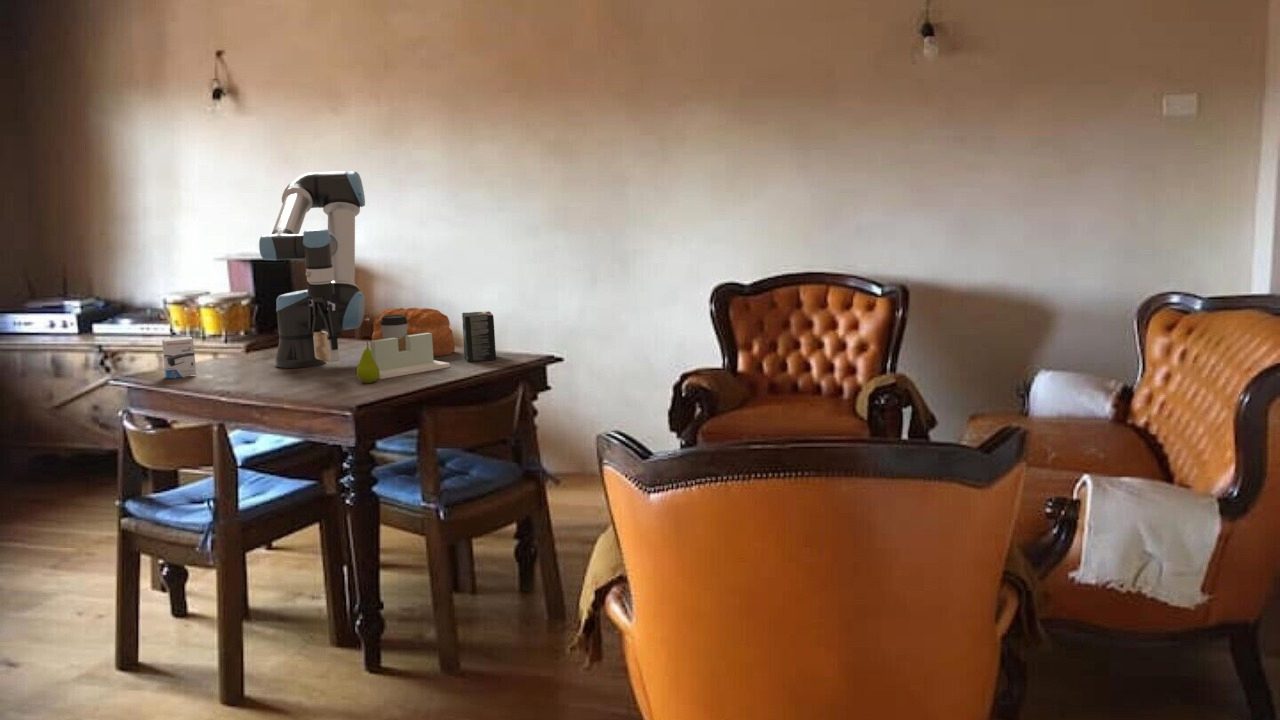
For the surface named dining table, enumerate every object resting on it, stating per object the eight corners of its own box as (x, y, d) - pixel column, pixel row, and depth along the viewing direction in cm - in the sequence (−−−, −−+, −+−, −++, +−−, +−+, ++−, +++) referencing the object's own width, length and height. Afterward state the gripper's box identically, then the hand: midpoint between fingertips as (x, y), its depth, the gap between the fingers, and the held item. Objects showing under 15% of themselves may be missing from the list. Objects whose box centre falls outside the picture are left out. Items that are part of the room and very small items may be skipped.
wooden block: (316, 358, 328) (313, 332, 326) (325, 357, 330) (322, 330, 328) (329, 362, 322) (327, 335, 321) (338, 360, 324) (336, 333, 323)
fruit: (359, 385, 313) (356, 343, 311) (356, 381, 318) (353, 341, 316) (382, 383, 315) (379, 341, 313) (378, 379, 321) (375, 339, 319)
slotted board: (356, 373, 332) (354, 340, 330) (424, 362, 348) (422, 330, 346) (381, 378, 322) (378, 344, 320) (449, 367, 338) (447, 334, 336)
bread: (390, 349, 376) (386, 304, 374) (459, 351, 368) (456, 305, 365) (367, 356, 363) (364, 309, 361) (439, 358, 355) (436, 310, 352)
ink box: (166, 379, 331) (162, 340, 329) (165, 377, 335) (161, 338, 333) (197, 376, 335) (193, 338, 333) (195, 373, 339) (191, 336, 337)
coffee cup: (404, 366, 342) (400, 318, 339) (379, 365, 344) (375, 318, 341) (414, 361, 350) (411, 314, 347) (390, 361, 352) (386, 314, 349)
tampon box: (496, 360, 348) (494, 314, 345) (467, 362, 346) (464, 316, 343) (492, 355, 358) (490, 310, 356) (464, 357, 356) (461, 312, 353)
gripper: (291, 280, 326) (298, 356, 331) (326, 286, 312) (332, 365, 316) (314, 278, 331) (321, 352, 336) (350, 283, 317) (356, 361, 321)
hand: (326, 358), depth 326 cm, fingers closed on wooden block, 8 cm apart
